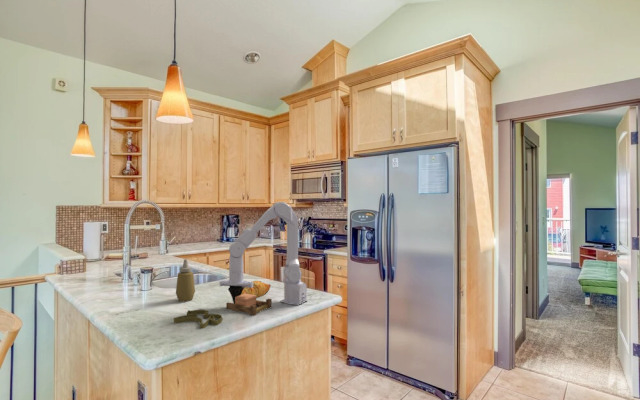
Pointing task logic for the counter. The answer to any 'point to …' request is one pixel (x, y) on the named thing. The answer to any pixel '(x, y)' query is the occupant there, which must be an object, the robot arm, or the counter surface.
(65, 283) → the counter surface
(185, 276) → the squeeze bottle
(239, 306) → the brown wooden frame
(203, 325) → the cookie cutter
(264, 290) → the croissant
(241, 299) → the peach rectangular block
